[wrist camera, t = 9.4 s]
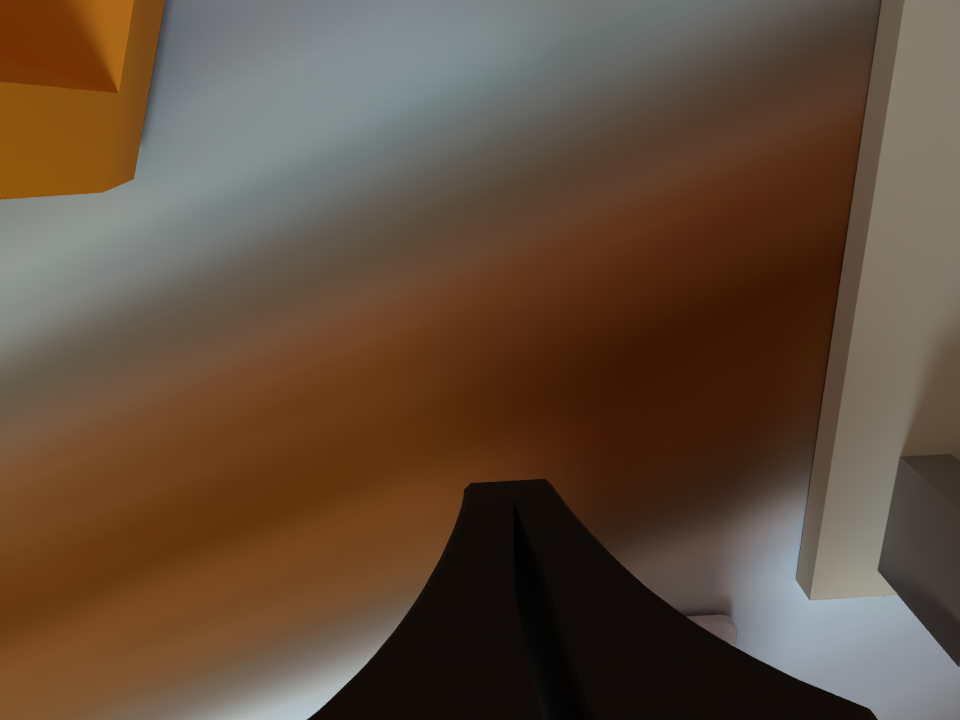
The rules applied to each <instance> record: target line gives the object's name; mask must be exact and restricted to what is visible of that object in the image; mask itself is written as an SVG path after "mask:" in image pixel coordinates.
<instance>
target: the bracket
mask: <svg viewBox="0 0 960 720" xmlns="http://www.w3.org/2000/svg"><path fill="white" fill-rule="evenodd" d="M164 4H165V0H0V199H14V198H28V197H43V196H58V195H73V194H87V193H102V192H105V191H107V190H110V189H112V188H114V187H116V186H119V185H121V184H123V183H126V182H128V181H130V180H133V179H134V175H135V169H136V163H137V157H138V152H139V146H140V140H141V135H142V129H143V123H144V118H145V112H146V106H147V100H148V95H149V89H150V83H151V78H152V72H153V66H154V61H155V55H156V49H157V43H158V38H159V32H160V26H161V21H162V15H163V9H164Z"/></svg>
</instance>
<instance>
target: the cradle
mask: <svg viewBox="0 0 960 720" xmlns="http://www.w3.org/2000/svg"><path fill="white" fill-rule="evenodd" d="M796 581H797V582H798V584H799V585H800V587H801V588H802V590H803V591H804V593H805V594H806V596H807V597H808V599H809V600H825V599H841V598H858V597H874V596H890V595H899V597H900V598H901V599H902V600H903V601H904V603H905V604H906V605H907V606H908V607H909V609H910V610H911V611H912V612H913V613H914V615H915V616H916V617H917V618H918V619H919V620H920V622H921V623H922V624H923V625H924V626H925V628H926V629H927V630H928V631H929V632H930V634H931V635H932V636H933V637H934V638H935V639H936V641H937V642H938V643H939V644H940V645H941V647H942V648H943V649H944V650H945V651H946V653H947V654H948V655H949V656H950V657H951V658H952V660H953V661H954V662H955V663H956V664H957V666H958V667H959V666H960V0H882V3H881V9H880V16H879V23H878V30H877V36H876V43H875V50H874V57H873V63H872V70H871V77H870V84H869V90H868V97H867V104H866V111H865V117H864V124H863V131H862V138H861V144H860V151H859V158H858V165H857V171H856V178H855V185H854V191H853V198H852V205H851V212H850V218H849V225H848V232H847V239H846V245H845V252H844V259H843V266H842V272H841V279H840V286H839V293H838V299H837V306H836V313H835V320H834V326H833V333H832V340H831V347H830V353H829V360H828V367H827V374H826V380H825V387H824V394H823V401H822V407H821V414H820V421H819V428H818V434H817V441H816V448H815V455H814V461H813V468H812V475H811V481H810V488H809V495H808V502H807V508H806V515H805V522H804V529H803V535H802V542H801V549H800V556H799V562H798V569H797V576H796Z"/></svg>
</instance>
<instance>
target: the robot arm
mask: <svg viewBox="0 0 960 720" xmlns="http://www.w3.org/2000/svg"><path fill="white" fill-rule="evenodd" d="M736 637H737V629H736V626H735V624H734V622H733V621H732V619H731V618H730V617H728V616H726V615H706V616H690V617H686V616H684V615H683V614H681V613H680V612H678V611H677V610H676V609H674V608H673V607H672V606H670V605H669V604H668V603H666V602H665V601H664V600H663V599H661V598H660V597H659V596H657V595H656V594H655V593H653V592H652V591H651V590H649V589H648V588H647V587H646V586H645V585H643V584H642V583H641V582H640V581H639V580H638V579H637V578H635V577H634V576H633V575H632V574H631V573H630V572H629V571H628V570H627V569H626V568H625V567H624V566H622V565H621V564H620V563H619V562H618V561H617V560H616V559H615V558H614V557H613V556H612V555H611V554H610V553H609V552H608V551H607V550H606V549H605V548H604V547H603V546H602V544H601V543H600V542H599V541H598V540H597V539H596V538H595V537H594V536H593V535H592V534H591V533H590V532H589V531H588V529H587V528H586V527H585V526H584V525H583V524H582V523H581V522H580V520H579V519H578V518H577V517H576V516H575V514H574V513H573V512H572V511H571V510H570V508H569V507H568V506H567V505H566V503H565V502H564V501H563V500H562V498H561V497H560V496H559V494H558V493H557V492H556V490H555V489H554V488H553V486H552V485H551V484H550V483H549V482H548V481H547V480H546V479H537V480H519V481H501V482H483V483H471V484H470V485H468V486H467V487H466V488H465V489H464V498H463V502H462V506H461V510H460V513H459V516H458V519H457V521H456V524H455V527H454V529H453V532H452V534H451V536H450V538H449V541H448V543H447V545H446V547H445V550H444V552H443V554H442V556H441V558H440V560H439V562H438V564H437V565H436V567H435V569H434V571H433V573H432V574H431V576H430V578H429V580H428V582H427V583H426V585H425V587H424V589H423V590H422V592H421V593H420V595H419V597H418V598H417V600H416V601H415V603H414V604H413V606H412V607H411V609H410V610H409V612H408V613H407V614H406V616H405V617H404V619H403V620H402V621H401V623H400V624H399V625H398V627H397V628H396V629H395V631H394V632H393V633H392V634H391V636H390V637H389V638H388V639H387V640H386V642H385V643H384V644H383V645H382V647H381V648H380V649H379V650H378V651H377V653H376V654H375V655H374V656H373V657H372V658H371V659H370V661H369V662H368V663H367V664H366V665H365V666H364V667H363V668H362V669H361V670H360V671H359V672H358V673H357V674H356V675H355V676H354V677H353V678H352V679H351V680H350V681H349V682H348V683H347V684H346V685H345V686H344V687H343V688H342V689H341V690H340V691H339V692H338V693H337V694H336V695H335V696H334V697H333V698H332V699H331V700H330V701H328V702H327V703H326V704H325V705H324V706H323V707H322V708H321V709H320V710H319V711H317V712H316V713H315V714H314V715H312V716H311V717H310V718H308V719H307V720H878V719H877V718H876V717H875V715H874V714H873V713H872V711H871V710H870V709H868V708H866V707H864V706H861V705H859V704H856V703H854V702H851V701H849V700H847V699H844V698H842V697H839V696H837V695H834V694H832V693H829V692H827V691H825V690H822V689H820V688H817V687H815V686H812V685H810V684H808V683H805V682H803V681H800V680H798V679H796V678H794V677H792V676H790V675H788V674H786V673H784V672H782V671H780V670H778V669H776V668H774V667H772V666H770V665H768V664H766V663H764V662H762V661H760V660H758V659H756V658H754V657H752V656H750V655H748V654H746V653H745V652H743V651H741V650H739V649H737V648H736V647H735V645H736Z"/></svg>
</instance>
